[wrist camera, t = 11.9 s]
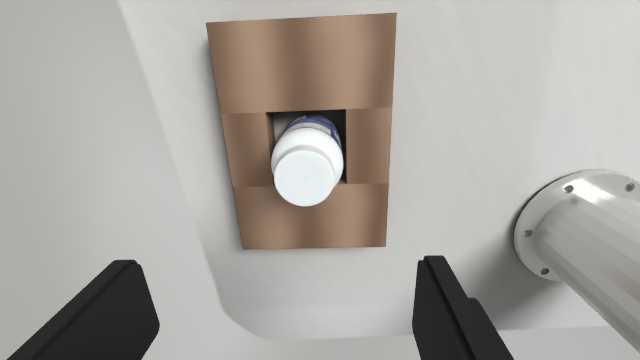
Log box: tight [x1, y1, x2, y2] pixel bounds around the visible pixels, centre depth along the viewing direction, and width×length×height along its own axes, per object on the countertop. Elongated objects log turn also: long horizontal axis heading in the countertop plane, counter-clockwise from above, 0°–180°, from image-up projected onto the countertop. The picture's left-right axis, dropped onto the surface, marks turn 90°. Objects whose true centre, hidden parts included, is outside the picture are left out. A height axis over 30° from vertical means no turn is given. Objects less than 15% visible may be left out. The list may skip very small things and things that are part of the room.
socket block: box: [206, 13, 397, 250], centre depth 27 cm, size 14×20×3 cm
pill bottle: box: [271, 114, 343, 206], centre depth 24 cm, size 5×5×10 cm
